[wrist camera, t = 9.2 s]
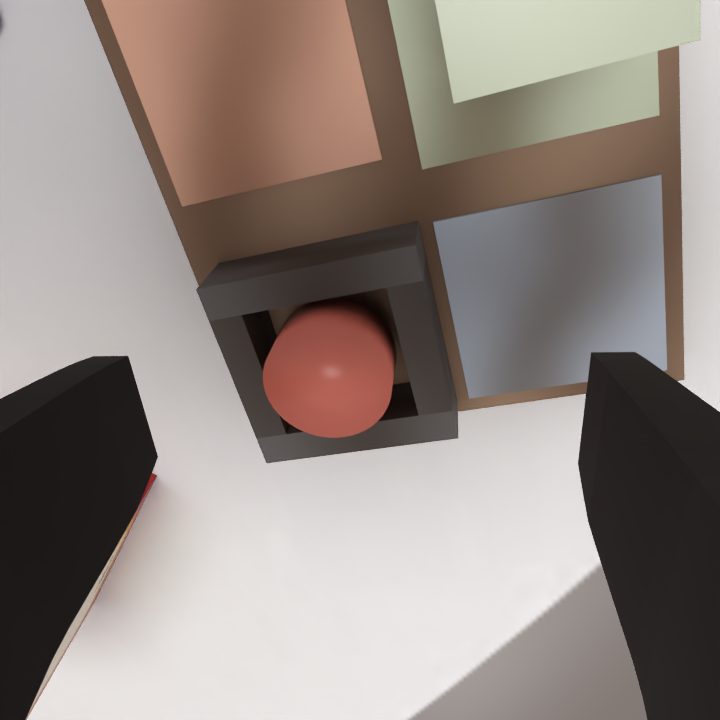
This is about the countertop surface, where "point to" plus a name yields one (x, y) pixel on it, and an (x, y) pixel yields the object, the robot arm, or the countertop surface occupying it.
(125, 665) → the countertop surface
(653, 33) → the two-tone sage block
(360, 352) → the button
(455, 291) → the compartment tray
